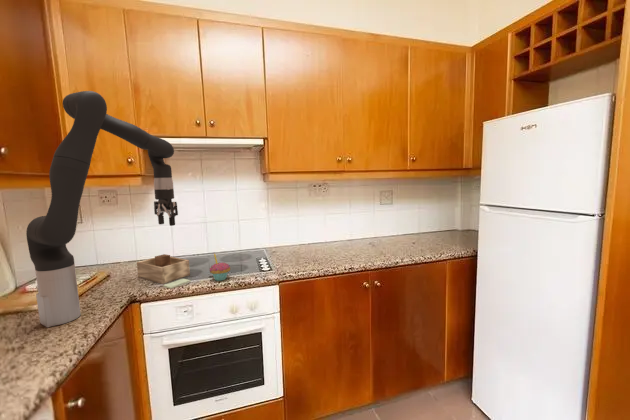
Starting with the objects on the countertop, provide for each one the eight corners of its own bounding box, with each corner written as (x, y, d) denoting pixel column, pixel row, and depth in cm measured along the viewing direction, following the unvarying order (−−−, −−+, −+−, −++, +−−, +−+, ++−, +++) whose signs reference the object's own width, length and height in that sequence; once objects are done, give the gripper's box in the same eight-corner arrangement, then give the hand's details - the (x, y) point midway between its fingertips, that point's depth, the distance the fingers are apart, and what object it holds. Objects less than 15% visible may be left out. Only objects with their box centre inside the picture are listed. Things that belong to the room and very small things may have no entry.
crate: (162, 284, 122) (161, 268, 122) (138, 277, 132) (136, 262, 131) (190, 275, 133) (188, 260, 133) (165, 269, 143) (164, 255, 142)
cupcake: (209, 283, 122) (207, 255, 121) (210, 276, 130) (209, 250, 129) (230, 280, 124) (229, 253, 123) (230, 274, 132) (229, 248, 131)
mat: (170, 288, 117) (170, 287, 117) (163, 286, 120) (163, 285, 119) (190, 281, 125) (190, 280, 125) (183, 279, 127) (183, 278, 127)
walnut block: (161, 273, 129) (160, 257, 129) (156, 271, 132) (154, 256, 131) (171, 270, 133) (170, 255, 132) (165, 268, 136) (164, 254, 135)
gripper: (146, 188, 128) (149, 225, 130) (164, 188, 121) (167, 227, 122) (163, 188, 135) (165, 222, 136) (181, 187, 127) (184, 224, 129)
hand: (166, 224), depth 129 cm, fingers open, 8 cm apart
